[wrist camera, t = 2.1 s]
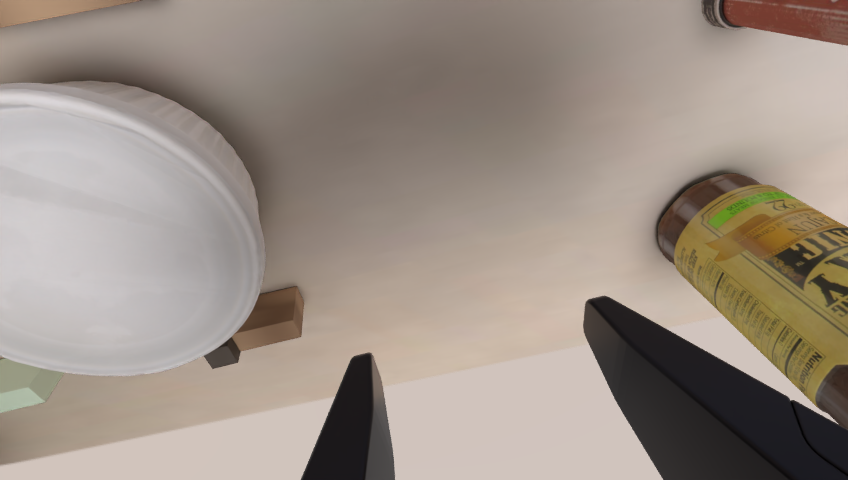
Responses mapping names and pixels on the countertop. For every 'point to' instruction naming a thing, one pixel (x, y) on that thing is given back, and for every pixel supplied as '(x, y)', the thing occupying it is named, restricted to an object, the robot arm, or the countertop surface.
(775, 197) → the sauce bottle
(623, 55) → the countertop surface
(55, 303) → the ramekin
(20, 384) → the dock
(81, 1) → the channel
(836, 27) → the lighter
